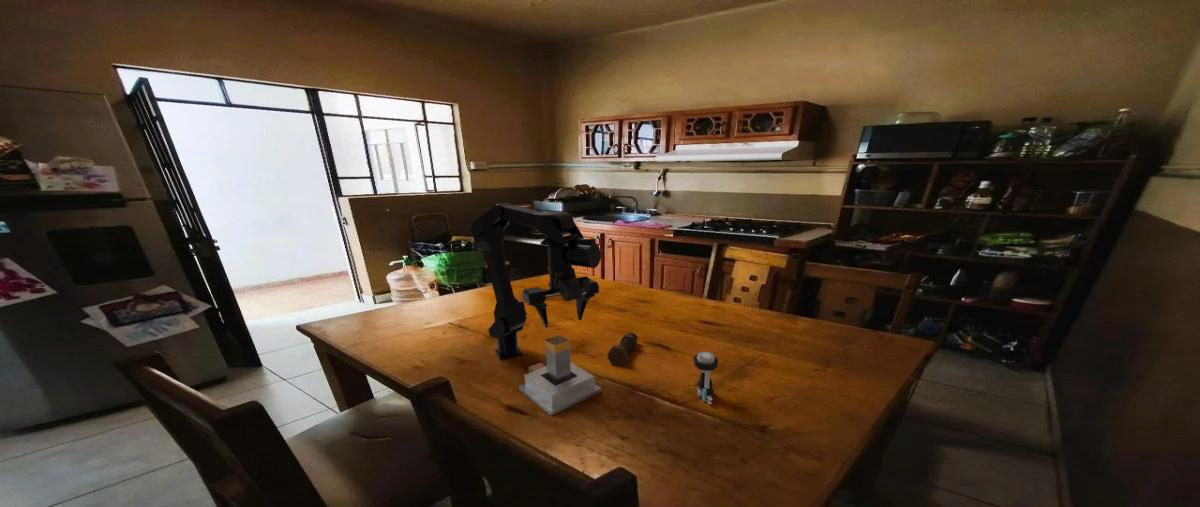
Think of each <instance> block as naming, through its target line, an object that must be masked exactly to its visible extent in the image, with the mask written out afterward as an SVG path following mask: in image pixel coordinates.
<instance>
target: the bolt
mask: <svg viewBox="0 0 1200 507" xmlns="http://www.w3.org/2000/svg"><path fill="white" fill-rule="evenodd" d="M638 337H639V336H638V335H637V334H635V333H634V332H629V333H626V334H624V335H623V336H622V337H621V340H620V341H619V345H612V346H611V348H610V349H609V351H608V353H607V355H606V356H607V358H608V361H609V363H610V364H611V365H614V366H616V367H617V366H619V367H623V366H624V365H625V363H626V362H627V360H628V359H629V357H630V356H629V353H630V351H633V350H634V349H635V348H636V346H637V344H638V339H639V338H638Z"/></svg>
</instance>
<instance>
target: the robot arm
mask: <svg viewBox="0 0 1200 507" xmlns="http://www.w3.org/2000/svg"><path fill="white" fill-rule="evenodd" d="M510 222H512V223H515V224H519V225H522V226H526V227H530V228H533V229H535V230H537V231H538V232H539V233H540V234H541V235H542V236H544V237H545V238H544V239H543V240H541V242H540V243H539V244H540V246H546V247H547V257H548V266H547V268H546V269H547V272H549V273H548V275H549V282H548V283H547V284H548V287H549V289H542V288H540V287H539V286H536V287H534V286H533V287H529V288H525V289H524V290H523V291H522V301H519V300H518V299H517V298H516V297H515V295H514V290H513V287H512V283H511V279H510V275H509V272H508V267H507V263H506V260H505V255H504V251H503V244H504V240H505V229H506V228H507V227H508V226H509V225H510ZM470 233H471V236H472V238H473V242H474V243H475V245H476V246H477V247H479V249H480V250H481V251H482V252H483V256H484V258H485V262H486V265H487V270H488V274H489V278H490V282H491V286H492V289H493V293H494V297H495V300H496V303H495V307H494V310H493V318H494V322H493V323H492V324H491V326H490V327H489V328H488V334H489V337H490V338H493V339H496V341H497V348H496V349H494V353H495V354H496V355H497V357H498V359H499V360H506V359H509V358H513V357H518V356H521V355H523V351H522V350H521V349H520V347H519V343H518V339H519V338H518V332H520V331H523V330H524V326H525V324H526V322H527V315H528V313H527V311H526V306H525V303H526V304H527V305H528V306H532V307H533V308H535V310H536V311H537V312H538V314H539V317H540V319H541V321H542V323H543V326H544V327H545V328H546V329H547V328H548V327H549V320H548V313H547V307H548V304H547V303H546V300H547V298H551V297H556V296H558V297H559V296H561V297H562V299H563V301H565V302H571V301H573V300H575V305H576V315H577V320H578V321H582V319H583V316H584V313H585V309H586V306H587V305H588V302H589V301H590V300H591V299H592V298H594V297H595V296H596V294H599V293H600V285H599V283H598V282H597V281H596V280H594V279H591V278H589V277H588V275H587V276H580V277H577V276H576V270H575V268H574V267H582V268H590V269H595V268H598V266H599V265H600V262H601V259H602V258H601V257H602V250H601V249H600V246H599V245H598V244H597V241H596V238H594V237H593V238H592V237H590V238H584V235H583V234H582V232H581V230H580V229H579V227H578V226H577V223H576V222H575V220H574V218H573V216H572V214H571V213H570V212H568V211H539V210H535V209H531V208H528V207H527V208H526V207H522V206H519V205H514V204H511V203H510V202H505V203H497V204H495V205H493V206H492V207H491V208H490V209H489V210H488V211H487V212H485V213H483V214H481V215H480V216H479V217H478V218H477V219H475V220H473V222H472V223H471V226H470ZM573 266H574V267H573Z"/></svg>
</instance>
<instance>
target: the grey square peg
mask: <svg viewBox="0 0 1200 507" xmlns="http://www.w3.org/2000/svg"><path fill="white" fill-rule="evenodd" d="M544 345H545V347H544V348H545V361H546V366H547V380H548V381H549V382H550V383H552V384H553V385H555V386H556V385H559V384H561V383H563V382H566V381H568V380H570V379H571V365H570V362H571V340H570V339H568V338H567V337H565V336H562V335H560V334H558V335H555V336H552V337H550V338H547V339H544Z"/></svg>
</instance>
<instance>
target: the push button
mask: <svg viewBox="0 0 1200 507" xmlns="http://www.w3.org/2000/svg"><path fill="white" fill-rule="evenodd" d="M692 359H693V362H694V367H696V368H697V369H698V370H699V371H700V374H699V379H697V396H698V397H701V399H702V401H703V402H707V404H708V405H713V403H712V401H713V398H714V389H713V381H712V379H711V377H710V376H711V374H710V373H711V372H712V371H714V370H716V369H717V368H718V364H719V359H718V358H717V357H716V356H715V355H714V353H712V352H710V351H699V352H698V353H697V354H695V355H694V356H693V358H692Z"/></svg>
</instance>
